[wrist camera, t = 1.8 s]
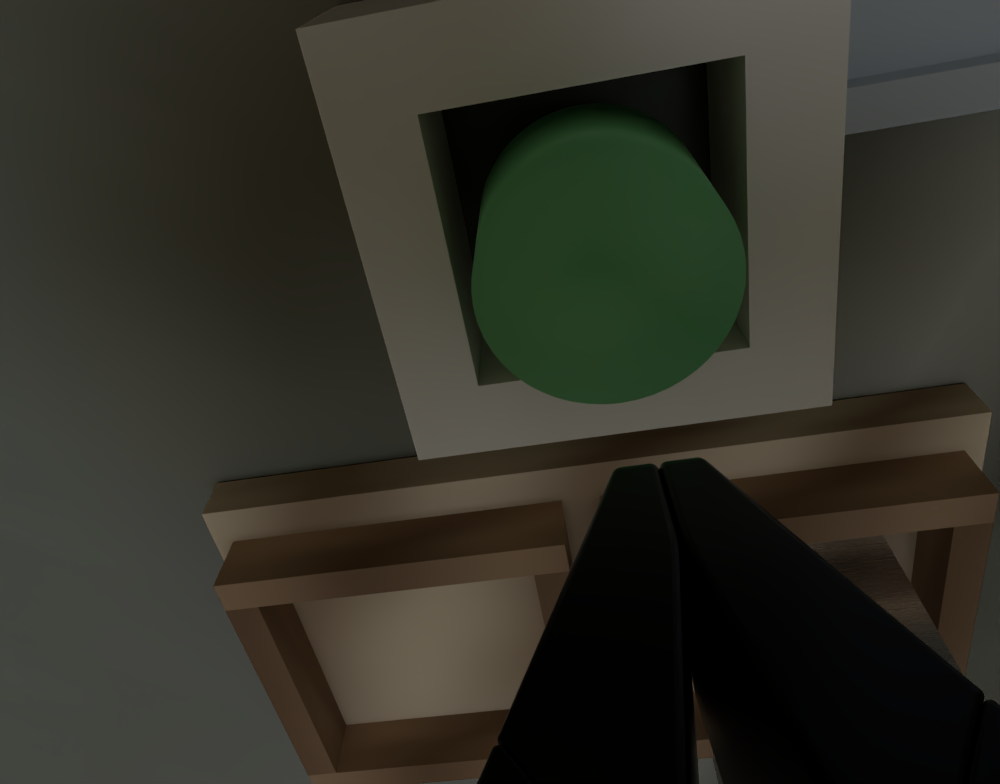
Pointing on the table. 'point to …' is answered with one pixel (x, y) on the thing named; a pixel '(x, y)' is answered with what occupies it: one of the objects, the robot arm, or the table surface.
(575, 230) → the button
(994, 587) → the table surface
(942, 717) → the robot arm
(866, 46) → the tray
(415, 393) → the button console
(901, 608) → the block
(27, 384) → the table surface
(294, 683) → the pallet board
